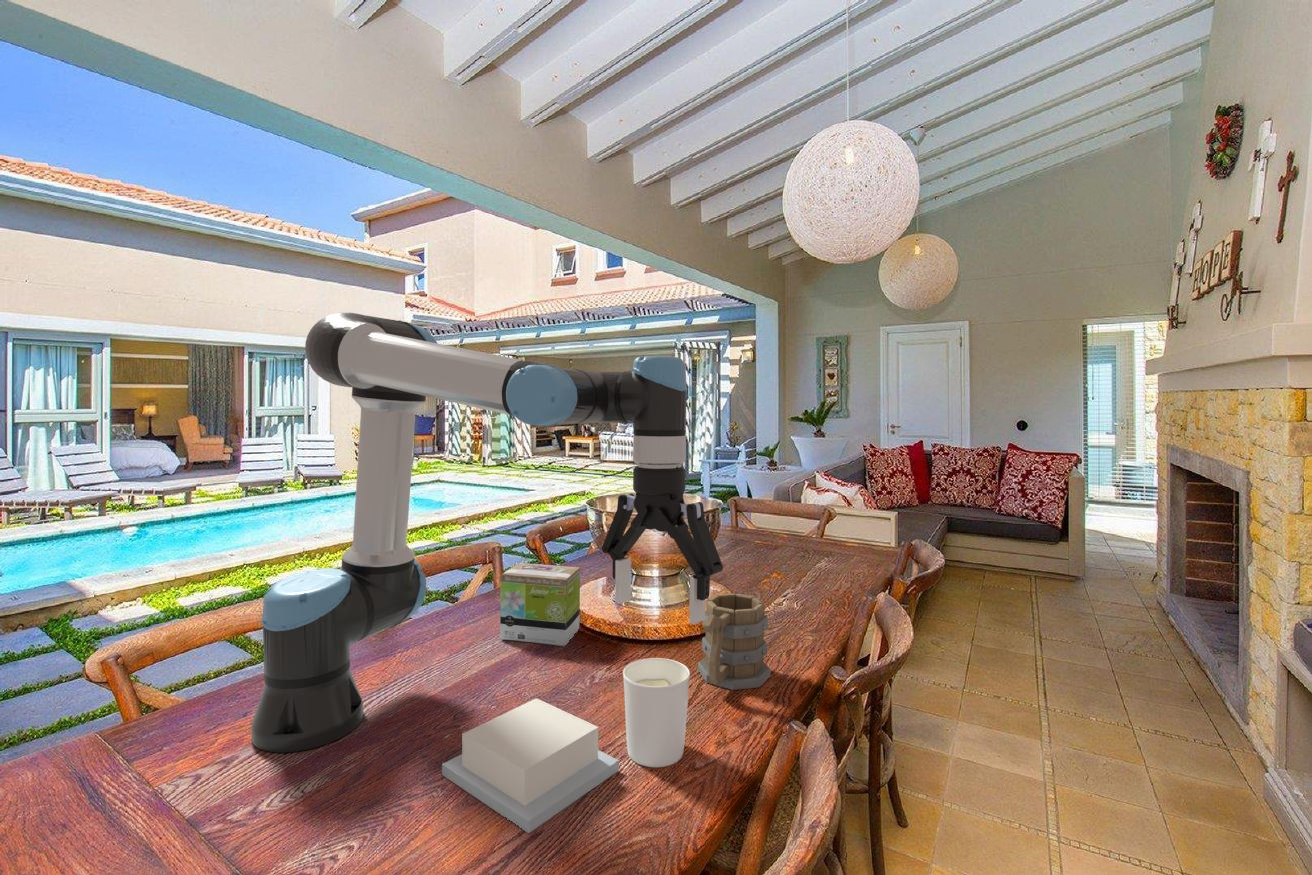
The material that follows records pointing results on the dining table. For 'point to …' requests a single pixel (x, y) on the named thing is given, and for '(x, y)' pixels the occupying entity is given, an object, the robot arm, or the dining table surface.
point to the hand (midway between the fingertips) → (658, 611)
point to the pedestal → (530, 763)
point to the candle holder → (655, 710)
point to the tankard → (734, 642)
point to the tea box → (540, 603)
